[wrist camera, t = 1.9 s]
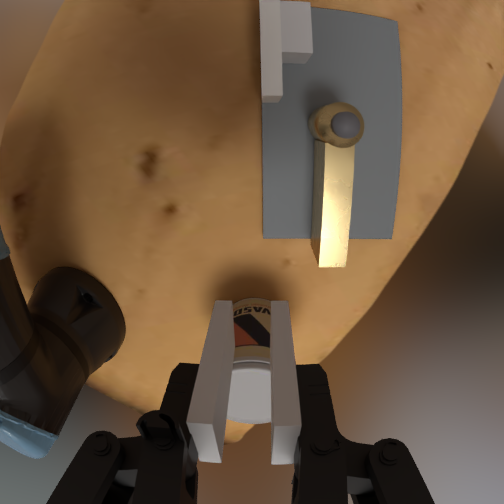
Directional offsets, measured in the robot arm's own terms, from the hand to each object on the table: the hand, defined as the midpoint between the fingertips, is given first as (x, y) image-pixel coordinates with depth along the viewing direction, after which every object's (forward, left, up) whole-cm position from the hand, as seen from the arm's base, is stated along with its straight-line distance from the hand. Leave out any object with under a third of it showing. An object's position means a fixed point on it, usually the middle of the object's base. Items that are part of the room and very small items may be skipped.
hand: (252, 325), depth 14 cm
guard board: (+8, +10, -18) cm, 22 cm away
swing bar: (+6, +4, -17) cm, 19 cm away
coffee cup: (0, -14, -19) cm, 23 cm away
